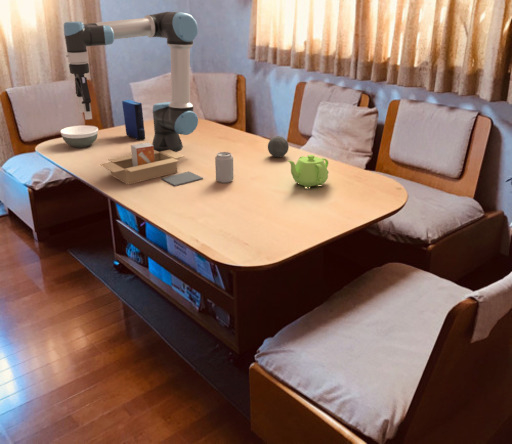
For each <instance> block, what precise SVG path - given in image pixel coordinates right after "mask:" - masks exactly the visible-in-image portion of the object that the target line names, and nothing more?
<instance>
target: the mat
mask: <svg viewBox="0 0 512 444" xmlns="http://www.w3.org/2000/svg"><path fill="white" fill-rule="evenodd" d="M160 178H161V180H162V181H164V182H166V183H168V184H169V185H171V186H173V187H177V186H181V185H185V184H190V183H194V182H197V181H201V180H204V177H202V176H200V175H198V174H195V173H194V172H191V171H184V172H181V173H175V174H171V175H167V176H163V177H160Z"/></svg>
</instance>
